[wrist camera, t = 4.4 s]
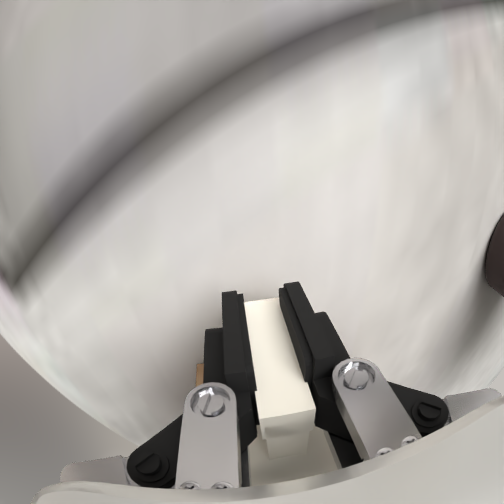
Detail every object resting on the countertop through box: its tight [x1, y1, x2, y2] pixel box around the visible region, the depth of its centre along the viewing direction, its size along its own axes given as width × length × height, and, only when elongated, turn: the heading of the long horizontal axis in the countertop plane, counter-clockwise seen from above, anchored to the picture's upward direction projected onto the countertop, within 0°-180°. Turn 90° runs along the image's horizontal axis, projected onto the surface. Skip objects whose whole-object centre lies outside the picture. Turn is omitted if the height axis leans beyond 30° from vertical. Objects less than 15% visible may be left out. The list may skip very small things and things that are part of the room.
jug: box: [244, 297, 338, 486], centre depth 11 cm, size 8×5×8 cm, turn 6°
